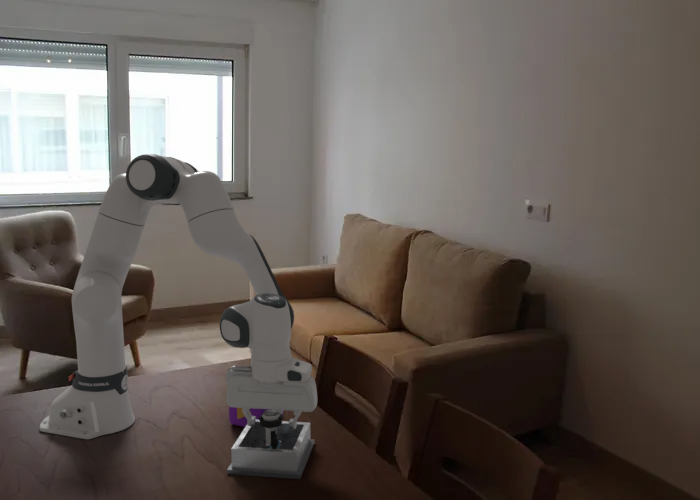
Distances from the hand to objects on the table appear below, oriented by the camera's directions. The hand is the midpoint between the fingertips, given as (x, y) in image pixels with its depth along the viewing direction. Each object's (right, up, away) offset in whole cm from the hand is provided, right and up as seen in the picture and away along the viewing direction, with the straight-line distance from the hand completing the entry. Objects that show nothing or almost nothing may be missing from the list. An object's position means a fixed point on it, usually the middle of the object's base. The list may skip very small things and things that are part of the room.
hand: (272, 426), depth 155 cm
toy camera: (-6, -4, +20) cm, 21 cm away
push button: (0, -7, +1) cm, 7 cm away
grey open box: (0, -8, +1) cm, 8 cm away
